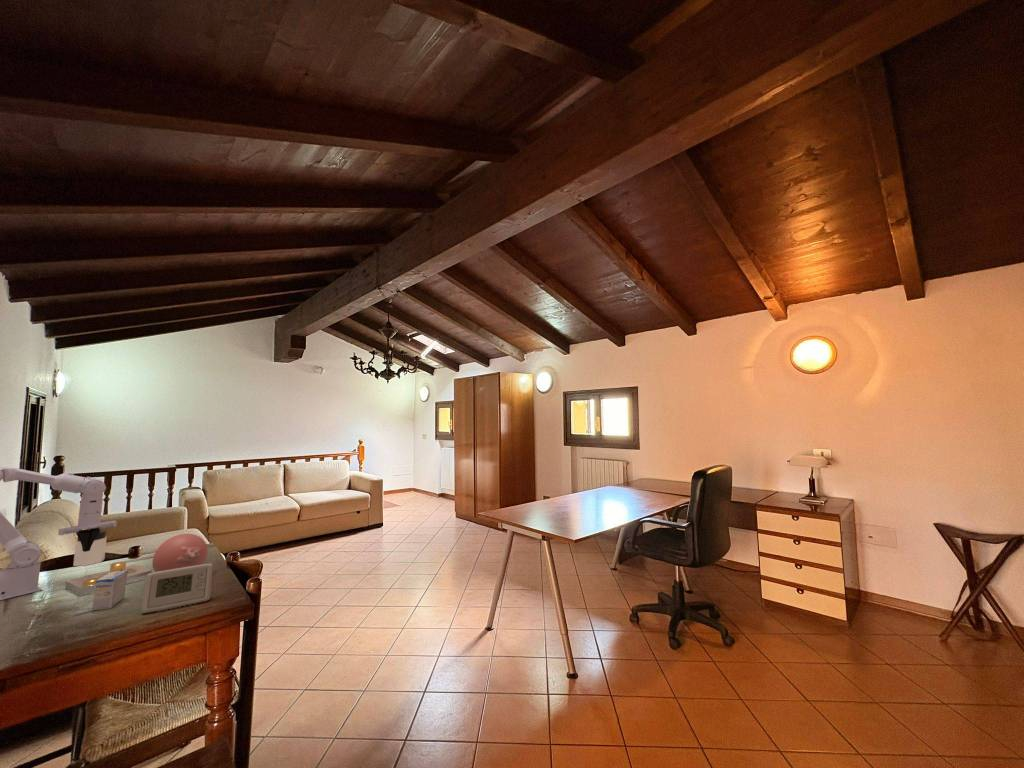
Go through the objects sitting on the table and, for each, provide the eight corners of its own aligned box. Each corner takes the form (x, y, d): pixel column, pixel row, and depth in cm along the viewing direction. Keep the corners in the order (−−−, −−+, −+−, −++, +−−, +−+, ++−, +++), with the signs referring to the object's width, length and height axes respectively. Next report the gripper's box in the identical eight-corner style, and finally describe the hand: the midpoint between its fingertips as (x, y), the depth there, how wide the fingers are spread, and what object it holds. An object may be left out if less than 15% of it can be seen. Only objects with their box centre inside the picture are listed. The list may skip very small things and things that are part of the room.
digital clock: (136, 616, 112) (140, 577, 114) (151, 603, 121) (154, 567, 122) (205, 606, 119) (208, 569, 120) (214, 594, 127) (217, 560, 128)
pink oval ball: (159, 593, 128) (164, 545, 130) (145, 580, 140) (149, 535, 142) (216, 579, 140) (219, 535, 142) (198, 567, 152) (202, 527, 154)
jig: (79, 596, 126) (81, 585, 127) (64, 588, 133) (66, 577, 133) (150, 577, 142) (151, 567, 143) (134, 571, 149) (135, 561, 149)
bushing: (111, 583, 137) (113, 566, 138) (106, 582, 138) (108, 564, 139) (126, 579, 140) (128, 562, 141) (121, 578, 142) (123, 561, 143)
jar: (100, 558, 165) (103, 528, 167) (108, 560, 161) (111, 530, 163) (69, 564, 157) (73, 533, 159) (76, 567, 154) (80, 536, 155)
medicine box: (106, 600, 123) (109, 571, 124) (124, 598, 125) (127, 569, 126) (91, 611, 116) (94, 580, 117) (111, 608, 118) (114, 578, 119)
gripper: (65, 517, 136) (60, 558, 134) (121, 509, 148) (117, 546, 147) (58, 515, 139) (53, 555, 137) (113, 508, 152) (110, 544, 150)
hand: (86, 550), depth 142 cm, fingers closed
